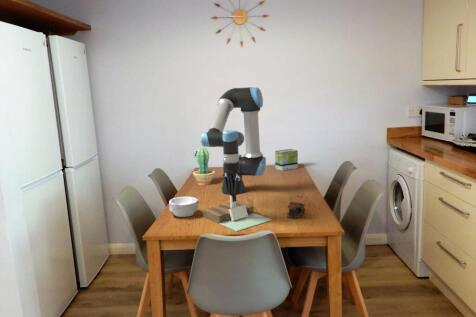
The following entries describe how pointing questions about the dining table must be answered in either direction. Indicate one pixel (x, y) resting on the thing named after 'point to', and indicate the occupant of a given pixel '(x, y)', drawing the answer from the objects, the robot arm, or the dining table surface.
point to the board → (224, 212)
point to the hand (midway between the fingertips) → (233, 207)
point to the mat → (245, 222)
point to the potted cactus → (203, 167)
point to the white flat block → (238, 212)
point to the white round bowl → (183, 206)
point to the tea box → (286, 159)
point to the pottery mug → (296, 210)
